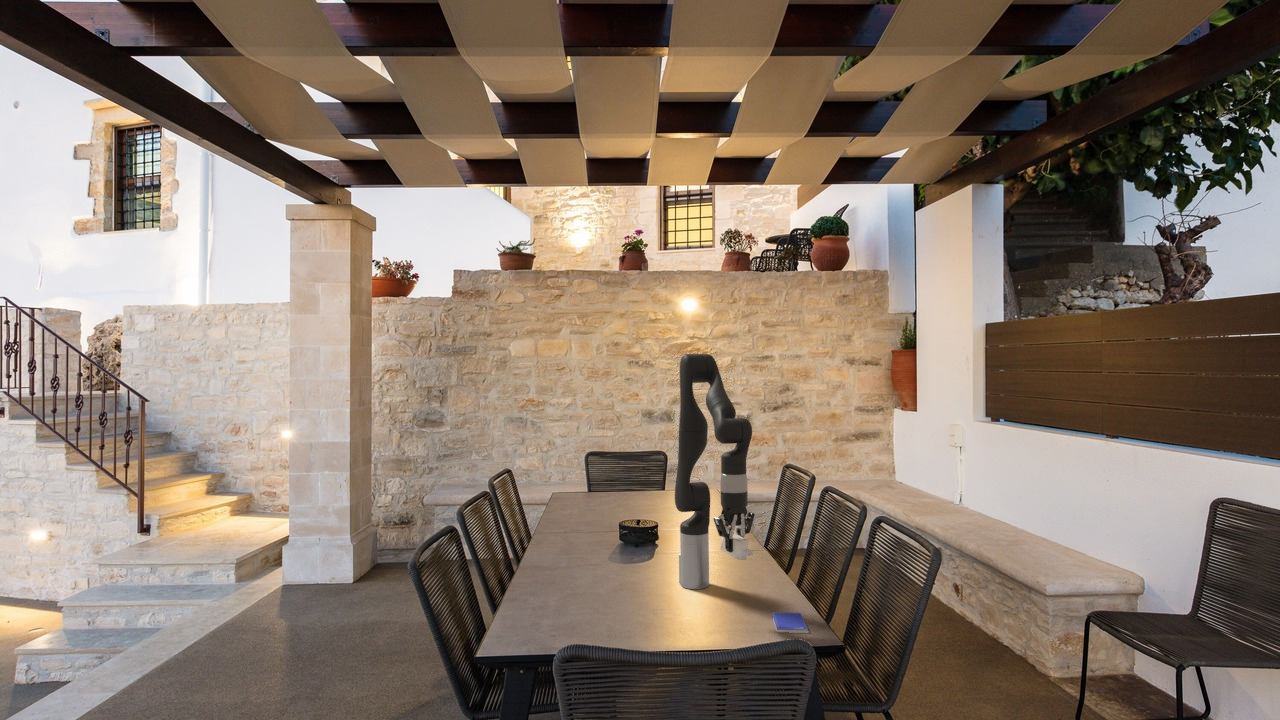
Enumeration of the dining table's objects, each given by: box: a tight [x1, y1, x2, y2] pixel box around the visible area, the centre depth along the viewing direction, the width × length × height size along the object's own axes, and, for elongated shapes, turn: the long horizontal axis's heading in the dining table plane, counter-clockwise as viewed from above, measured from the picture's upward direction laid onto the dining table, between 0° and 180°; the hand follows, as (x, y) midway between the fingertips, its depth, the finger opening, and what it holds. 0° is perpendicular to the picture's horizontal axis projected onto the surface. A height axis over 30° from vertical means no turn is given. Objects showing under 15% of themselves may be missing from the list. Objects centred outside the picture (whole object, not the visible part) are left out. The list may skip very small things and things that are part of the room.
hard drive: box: [771, 612, 809, 634], centre depth 190 cm, size 2×8×12 cm
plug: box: [720, 531, 754, 561], centre depth 195 cm, size 11×3×5 cm, turn 34°
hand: (734, 550), depth 195 cm, fingers closed on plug, 3 cm apart
